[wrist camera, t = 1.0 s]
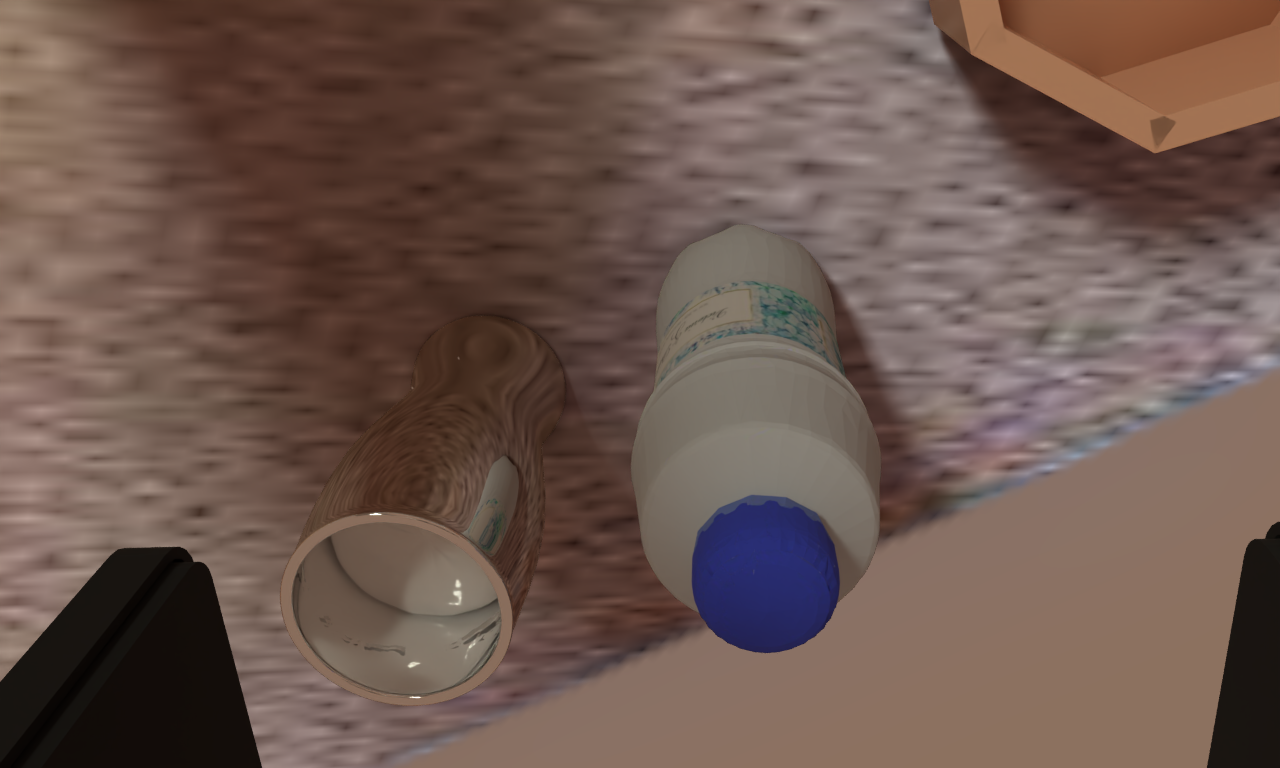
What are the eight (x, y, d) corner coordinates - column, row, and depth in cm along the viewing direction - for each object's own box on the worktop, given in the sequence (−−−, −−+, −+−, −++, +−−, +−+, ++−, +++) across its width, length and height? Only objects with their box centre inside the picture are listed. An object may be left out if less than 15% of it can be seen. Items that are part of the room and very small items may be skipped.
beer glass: (612, 369, 45) (568, 595, 31) (516, 492, 48) (438, 750, 34) (461, 268, 44) (347, 460, 30) (371, 401, 46) (228, 632, 33)
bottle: (742, 168, 41) (766, 421, 23) (870, 291, 43) (985, 614, 25) (617, 295, 44) (549, 614, 26) (743, 406, 45) (763, 779, 27)
